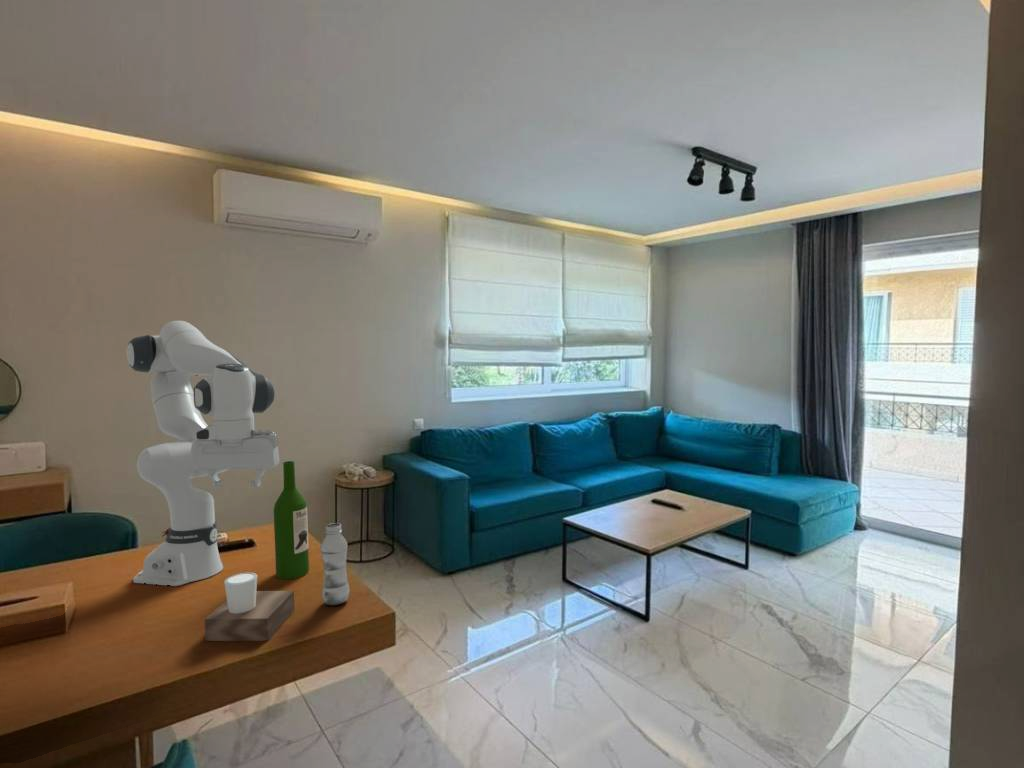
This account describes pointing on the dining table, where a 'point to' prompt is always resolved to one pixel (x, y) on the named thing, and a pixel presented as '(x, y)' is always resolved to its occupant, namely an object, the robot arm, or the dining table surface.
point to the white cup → (241, 592)
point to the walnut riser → (251, 618)
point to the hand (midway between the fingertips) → (236, 486)
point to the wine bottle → (291, 529)
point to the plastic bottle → (334, 566)
